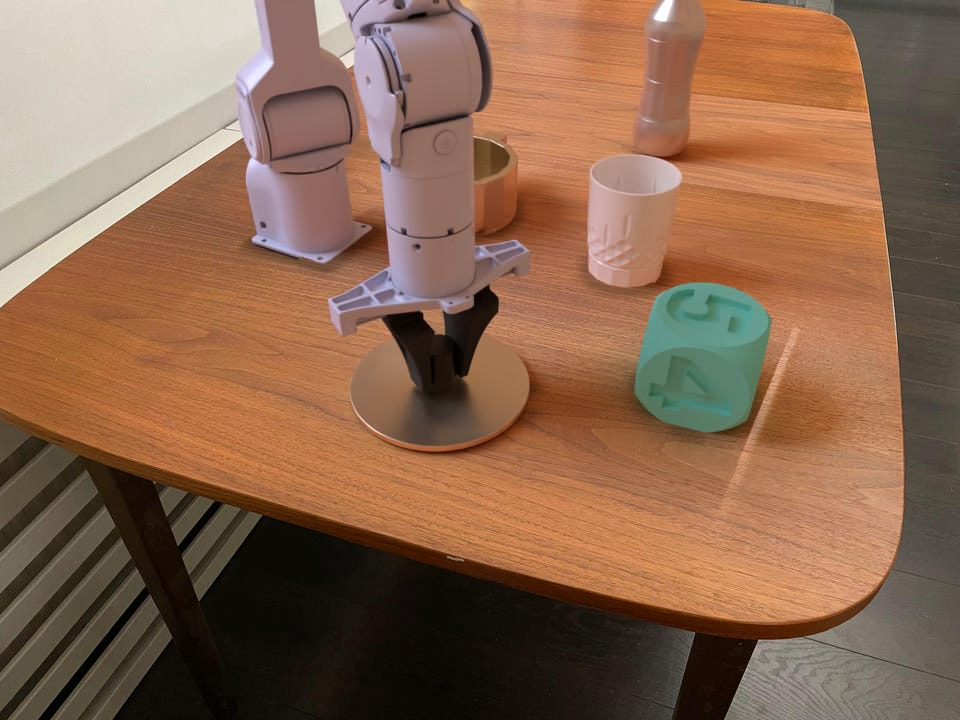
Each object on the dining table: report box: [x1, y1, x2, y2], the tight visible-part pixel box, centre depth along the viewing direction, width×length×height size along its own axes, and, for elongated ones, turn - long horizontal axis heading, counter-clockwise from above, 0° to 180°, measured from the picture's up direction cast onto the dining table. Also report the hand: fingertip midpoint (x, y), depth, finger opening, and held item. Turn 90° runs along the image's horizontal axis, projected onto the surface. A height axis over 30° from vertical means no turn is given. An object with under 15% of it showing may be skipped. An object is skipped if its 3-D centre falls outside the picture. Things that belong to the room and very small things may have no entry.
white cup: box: [586, 153, 684, 289], centre depth 68 cm, size 8×8×10 cm
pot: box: [473, 130, 519, 237], centre depth 79 cm, size 13×18×6 cm
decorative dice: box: [633, 281, 773, 433], centre depth 55 cm, size 8×8×8 cm
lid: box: [349, 327, 530, 452], centre depth 57 cm, size 14×14×5 cm
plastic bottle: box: [632, 0, 708, 157], centre depth 86 cm, size 6×7×20 cm
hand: (439, 376), depth 57 cm, fingers closed on lid, 2 cm apart
